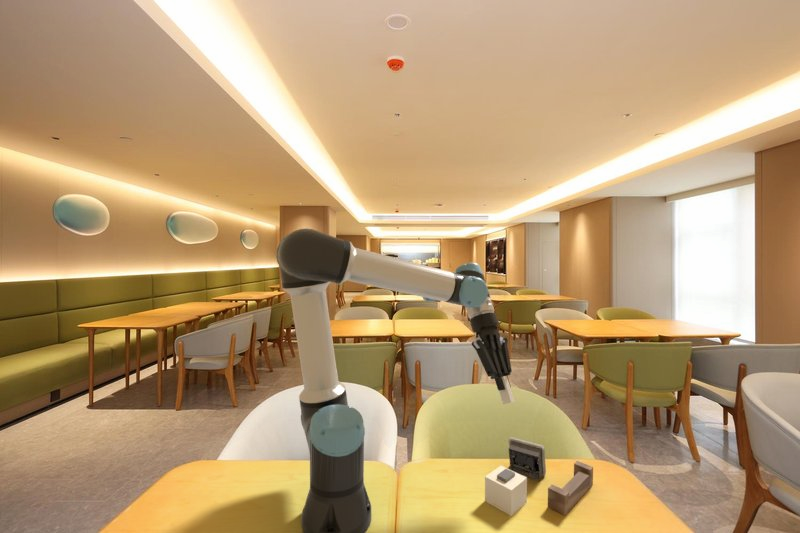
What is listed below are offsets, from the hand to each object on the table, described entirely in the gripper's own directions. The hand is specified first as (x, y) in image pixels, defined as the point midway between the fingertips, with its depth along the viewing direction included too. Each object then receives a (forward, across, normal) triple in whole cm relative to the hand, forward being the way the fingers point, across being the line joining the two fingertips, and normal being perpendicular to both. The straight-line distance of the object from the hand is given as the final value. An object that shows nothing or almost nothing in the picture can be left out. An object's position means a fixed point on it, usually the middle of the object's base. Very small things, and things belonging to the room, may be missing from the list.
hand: (508, 402), depth 95 cm
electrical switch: (+19, +9, +8) cm, 22 cm away
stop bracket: (+24, +10, -3) cm, 26 cm away
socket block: (+21, -5, +6) cm, 22 cm away
